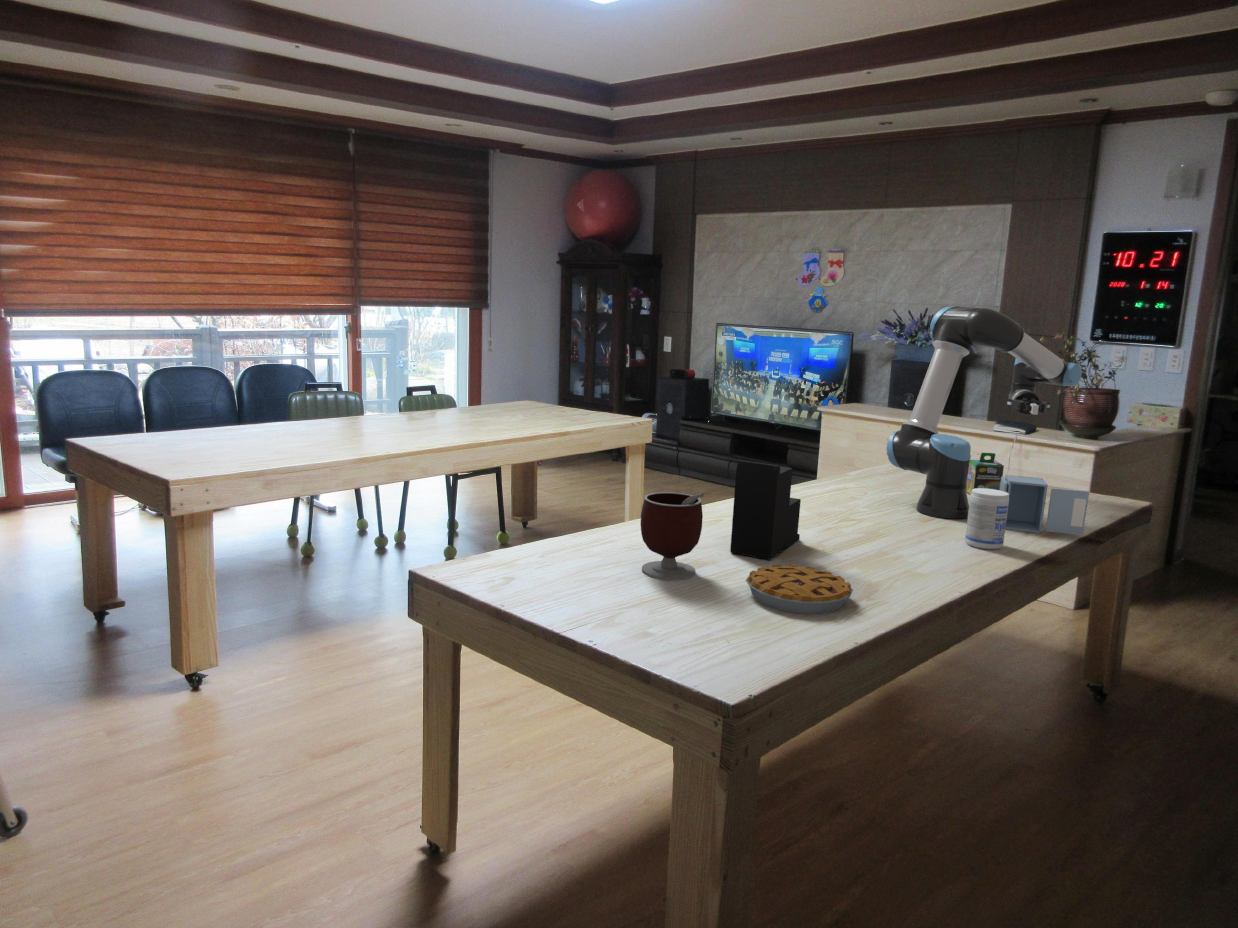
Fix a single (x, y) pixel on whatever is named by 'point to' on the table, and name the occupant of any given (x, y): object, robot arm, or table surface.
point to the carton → (1024, 502)
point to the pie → (799, 589)
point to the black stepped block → (763, 510)
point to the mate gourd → (671, 532)
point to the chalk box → (984, 473)
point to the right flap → (1067, 511)
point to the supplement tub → (987, 518)
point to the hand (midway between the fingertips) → (1035, 410)
